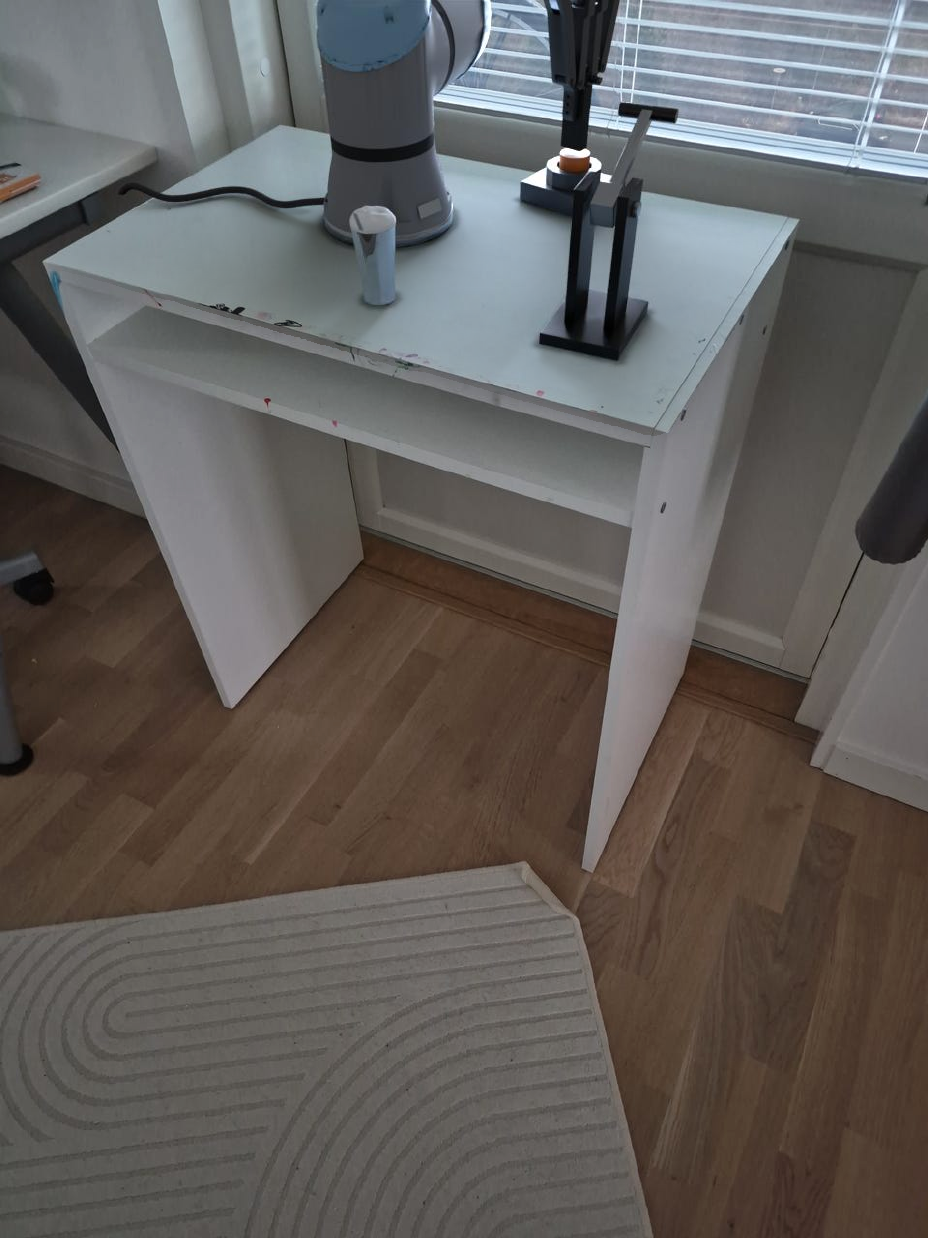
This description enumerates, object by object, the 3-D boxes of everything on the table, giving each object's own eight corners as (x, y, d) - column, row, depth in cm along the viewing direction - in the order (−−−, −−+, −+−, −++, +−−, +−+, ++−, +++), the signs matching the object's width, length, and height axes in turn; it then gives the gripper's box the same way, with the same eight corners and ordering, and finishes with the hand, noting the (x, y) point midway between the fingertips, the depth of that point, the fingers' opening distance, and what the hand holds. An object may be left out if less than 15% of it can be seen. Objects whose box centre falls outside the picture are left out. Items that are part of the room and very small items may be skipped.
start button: (553, 169, 106) (553, 153, 104) (570, 159, 107) (571, 144, 106) (578, 176, 104) (579, 160, 103) (594, 166, 106) (596, 151, 105)
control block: (519, 199, 108) (520, 165, 106) (557, 178, 113) (559, 145, 110) (587, 220, 104) (590, 185, 101) (624, 198, 108) (628, 163, 105)
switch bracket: (572, 297, 92) (583, 156, 82) (647, 311, 90) (668, 169, 80) (538, 344, 86) (546, 198, 76) (617, 361, 84) (636, 213, 73)
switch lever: (621, 115, 85) (621, 92, 83) (677, 123, 83) (679, 99, 81) (572, 221, 80) (571, 200, 78) (631, 231, 79) (631, 209, 77)
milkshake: (345, 307, 91) (333, 208, 84) (371, 284, 95) (362, 187, 87) (384, 316, 90) (375, 217, 83) (409, 292, 93) (402, 195, 86)
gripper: (589, -95, 82) (568, 172, 99) (661, -116, 88) (630, 137, 106) (523, -105, 85) (515, 156, 102) (598, -124, 92) (578, 123, 109)
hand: (573, 146), depth 104 cm, fingers closed
